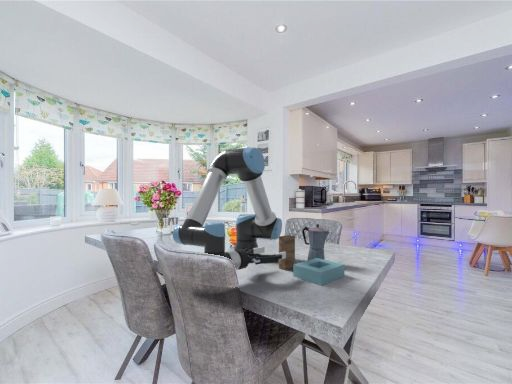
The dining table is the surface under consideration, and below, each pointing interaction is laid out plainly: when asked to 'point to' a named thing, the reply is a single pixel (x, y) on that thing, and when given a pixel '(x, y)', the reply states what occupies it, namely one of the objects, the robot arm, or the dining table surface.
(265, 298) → the dining table surface
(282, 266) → the walnut board
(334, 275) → the slotted base
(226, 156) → the robot arm
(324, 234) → the moka pot
